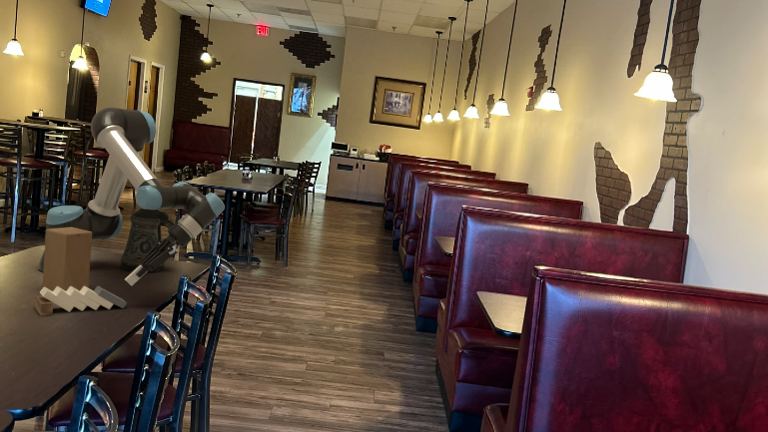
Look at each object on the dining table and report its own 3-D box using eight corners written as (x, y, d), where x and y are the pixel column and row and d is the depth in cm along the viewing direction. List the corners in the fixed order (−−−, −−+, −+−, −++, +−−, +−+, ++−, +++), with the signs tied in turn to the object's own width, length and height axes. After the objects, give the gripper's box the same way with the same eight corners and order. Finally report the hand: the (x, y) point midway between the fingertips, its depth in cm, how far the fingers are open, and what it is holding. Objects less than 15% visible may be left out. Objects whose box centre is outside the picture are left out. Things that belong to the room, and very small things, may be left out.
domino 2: (82, 301, 198) (57, 285, 193) (86, 305, 194) (61, 290, 189) (78, 306, 198) (52, 291, 192) (82, 311, 194) (56, 295, 189)
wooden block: (88, 290, 216) (92, 231, 214) (62, 295, 207) (66, 233, 205) (68, 284, 221) (71, 226, 218) (41, 289, 211) (45, 228, 209)
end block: (45, 306, 194) (46, 295, 193) (52, 315, 187) (53, 303, 186) (34, 307, 192) (35, 295, 192) (40, 315, 185) (41, 303, 185)
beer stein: (119, 263, 260) (123, 201, 257) (169, 264, 268) (174, 205, 265) (120, 272, 245) (125, 207, 242) (174, 273, 253) (179, 210, 250)
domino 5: (122, 298, 205) (97, 285, 200) (127, 303, 201) (102, 289, 196) (118, 304, 205) (93, 291, 200) (123, 308, 201) (98, 295, 196)
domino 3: (95, 300, 200) (70, 285, 195) (100, 304, 197) (74, 289, 191) (91, 305, 200) (66, 291, 195) (95, 310, 196) (70, 295, 191)
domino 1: (70, 301, 196) (44, 286, 191) (74, 306, 192) (47, 290, 187) (65, 307, 195) (39, 292, 190) (69, 311, 191) (42, 296, 186)
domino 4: (108, 299, 203) (84, 285, 198) (113, 303, 199) (88, 289, 194) (104, 305, 202) (79, 291, 197) (109, 309, 199) (84, 295, 193)
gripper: (170, 219, 215) (114, 269, 207) (184, 226, 205) (125, 279, 196) (184, 235, 219) (129, 285, 210) (199, 242, 209) (142, 295, 200)
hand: (128, 282), depth 203 cm, fingers closed
